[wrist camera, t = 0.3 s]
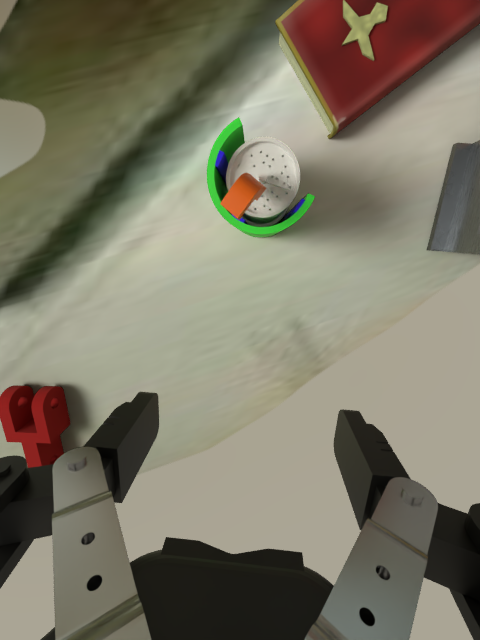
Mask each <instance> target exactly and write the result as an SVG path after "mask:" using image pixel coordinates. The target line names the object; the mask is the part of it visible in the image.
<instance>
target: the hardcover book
mask: <svg viewBox="0 0 480 640" xmlns="http://www.w3.org/2000/svg"><path fill="white" fill-rule="evenodd" d="M275 24H276V26H277V27H278V29H279V31H280V39H279V45H280V47H281V49H282V50H283V52H284V54H285V56H286V57H287V59H288V61H289V63H290V64H291V66H292V68H293V70H294V71H295V73H296V75H297V77H298V78H299V80H300V82H301V84H302V85H303V87H304V89H305V91H306V92H307V94H308V96H309V98H310V99H311V101H312V103H313V105H314V106H315V108H316V110H317V112H318V114H319V115H320V117H321V119H322V121H323V122H324V124H325V126H326V128H327V129H328V131H329V133H330V134H329V135H328V136H327V137H328V138H329V139H330V138H332V137H333V136H334V135H336V134H337V133H338V132H339V131H341V130H342V129H343V128H345V127H346V126H347V125H349V124H350V123H351V122H352V121H354V120H355V119H356V118H358V117H359V116H360V115H362V114H363V113H364V112H365V111H367V110H368V109H369V108H371V107H372V106H373V105H375V104H376V103H377V102H378V101H380V100H381V99H382V98H384V97H385V96H386V95H388V94H389V93H390V92H391V91H393V90H394V89H395V88H397V87H398V86H399V85H401V84H402V83H403V82H404V81H406V80H407V79H408V78H410V77H411V76H412V75H414V74H415V73H416V72H417V71H419V70H420V69H421V68H423V67H424V66H425V65H427V64H428V63H429V62H430V61H432V60H433V59H434V58H436V57H437V56H438V55H439V54H441V53H442V52H443V51H445V50H446V49H447V48H449V47H450V46H451V45H452V44H454V43H455V42H456V41H458V40H459V39H460V38H462V37H463V36H464V35H465V34H467V33H468V32H469V31H471V30H472V29H473V28H475V27H476V26H477V25H478V24H480V0H298V1H297V2H296V3H295V4H294V5H293V6H291V7H290V8H289V9H288V10H287V11H286V12H285V13H284V14H283V15H282V16H280V17H279V18H278V19H277V20H276V23H275Z"/></svg>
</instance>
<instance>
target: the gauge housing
mask: <svg viewBox="0 0 480 640" xmlns="http://www.w3.org/2000/svg"><path fill="white" fill-rule="evenodd" d="M427 250H433V251H445V252H458V253H471V254H480V140H479V141H477V142H475V143H473V144H467V143H456V144H454V145H453V147H452V151H451V155H450V159H449V163H448V167H447V171H446V175H445V179H444V183H443V187H442V191H441V195H440V199H439V203H438V207H437V211H436V215H435V219H434V223H433V227H432V231H431V235H430V239H429V243H428V247H427Z"/></svg>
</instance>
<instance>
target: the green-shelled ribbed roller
mask: <svg viewBox="0 0 480 640" xmlns="http://www.w3.org/2000/svg"><path fill="white" fill-rule="evenodd" d="M207 183H208V189H209V193H210V196H211V198H212V201H213V203H214V205H215V207H216V208H217V210H218V211H219V213H220V214H221V215H222V216H223V217H224V219H225V220H227V221H228V222H229V223H230V224H232V225H233V226H234V227H236V228H237V229H239V230H240V231H242V232H243V233H245V234H247V235H250V236H253V237H269V236H272V235H274V234H277V233H278V232H280V231H282V230H284V229H286V228H288V227H289V226H291V225H292V224H294V223H295V222H296V221H298V220H299V219H300V218H301V217H302V216H303V215H304V214H305V212H306V211H307V210H308V208H309V207H310V205H311V204H312V202H313V200H314V198H315V196H313V195H311V194H309V193H308V194H307V195H306V196H305V197H304V198H303V199H301V200H300V201H299V202H298V203H297V204H296V205H295V206H294V207H293V209H292V210H291V211H290V212H289V213H288V214H287V215H286V216H285V218H284V219H283V221H282V222H281V223H279V224H277V225H275V224H276V223H278V222H279V221H280V220H281V219H282V218H283V216H284V215H285V213H286V212H287V210H288V207H289V205H290V204H291V202H292V201H293V199H294V198H295V196H296V194H297V191H298V188H299V184H300V168H299V164H298V161H297V158H296V156H295V154H294V153H293V151H292V150H291V149H290V148H289V147H288V146H287V145H286V144H285V143H283V142H282V141H280V140H278V139H275V138H271V137H257V138H254V139H251V140H249V141H247V142H245V141H244V134H243V127H242V123H241V121H240V118H237V119H235V120H234V121H233V122H231V123H230V124H229V125H228V126H227V127H226V128H225V129H224V130H223V131H222V132H221V134H220V135H219V137H218V138H217V140H216V141H215V143H214V145H213V148H212V150H211V153H210V156H209V160H208V166H207Z"/></svg>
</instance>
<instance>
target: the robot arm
mask: <svg viewBox="0 0 480 640" xmlns="http://www.w3.org/2000/svg"><path fill="white" fill-rule="evenodd" d="M158 429H159V407H158V395H157V393H149V392H139V393H138V394H137V395H136V397H135V398H134V399H133V401H132V402H125V403H124V404H122V405H120V406H119V407H117V408H116V409H115V410H114V411H113V412H112V413H111V415H110V416H109V418H107V419H106V420H105V422H104V423H103V425H101V426H100V428H99V429H98V430H97V431H96V432H95V433H94V435H93V436H92V437H91V438H90V439H89V441H88V442H87V443H86V444H85V445H84V446H83V447H79V448H75V449H72V450H70V451H68V452H66V453H64V454H63V455H61V456H60V457H59V458H58V459H57V460H56V461H55V463H54V464H51V465H45V466H38V467H31V468H28V466H27V461H26V459H25V458H23V457H21V456H7V457H3V458H0V588H1V587H2V585H3V584H4V582H5V581H6V579H7V578H8V577H9V575H10V574H11V572H12V571H13V569H14V568H15V566H16V565H17V563H18V562H19V561H20V559H21V558H22V556H23V555H24V553H25V552H26V550H27V549H28V548H29V546H30V545H31V543H32V542H33V540H34V539H36V538H41V537H45V536H50V535H52V539H53V571H54V604H55V605H54V606H55V627H54V628H53V629H52V630H51V631H50V632H49V633H48V634H46V635H45V636H44V637H43V638H42V639H41V640H409V638H410V634H411V629H412V625H413V621H414V616H415V612H416V608H417V603H418V599H419V595H420V591H421V586H422V582H423V578H427V579H429V580H431V581H433V582H436V583H438V584H440V585H443V586H445V587H447V588H449V589H450V591H451V594H452V595H453V598H454V600H455V602H456V604H457V606H458V608H459V610H460V612H461V614H462V616H463V618H464V621H465V623H466V625H467V627H468V629H469V631H470V633H471V635H472V637H473V639H474V640H480V503H479V504H474V505H472V506H471V507H470V509H469V512H468V514H467V513H464V512H461V511H458V510H455V509H452V508H449V507H447V506H444V505H441V504H439V503H437V500H436V498H435V497H434V495H433V494H432V493H431V492H430V491H429V490H428V489H426V488H425V487H424V486H423V485H421V484H419V483H418V482H416V481H413V480H411V479H410V477H409V476H408V474H407V473H406V471H405V469H404V468H403V466H402V464H401V463H400V461H399V459H398V458H397V456H396V455H395V453H394V452H393V450H392V448H391V447H390V445H389V444H388V442H387V440H386V438H385V436H384V435H383V433H382V432H381V431H379V430H378V429H377V428H376V427H375V426H374V425H372V424H366V422H365V421H364V419H363V417H362V415H361V413H360V412H359V411H353V410H340V411H339V414H338V420H337V426H336V431H335V438H334V453H335V457H336V460H337V462H338V466H339V468H340V471H341V475H342V478H343V481H344V484H345V486H346V489H347V492H348V495H349V498H350V501H351V504H352V507H353V510H354V513H355V516H356V519H357V522H358V525H359V528H360V530H361V532H360V534H359V536H358V538H357V541H356V542H355V545H354V546H353V548H352V550H351V553H350V555H349V557H348V559H347V561H346V563H345V565H344V567H343V569H342V571H341V573H340V575H339V577H338V579H337V581H336V583H335V585H334V586H333V585H332V584H331V583H330V582H329V581H328V580H326V579H325V578H324V577H322V576H321V575H320V574H318V573H317V572H315V571H313V570H311V569H309V568H307V567H305V566H304V564H303V556H302V553H301V552H293V551H284V550H275V549H263V550H257V551H251V552H245V553H239V554H230V553H227V552H224V551H222V550H220V549H217V548H215V547H212V546H210V545H208V544H205V543H203V542H200V541H196V540H187V539H177V538H169V537H166V539H165V542H164V545H163V548H162V550H158V551H154V552H151V553H148V554H146V555H143V556H141V557H139V558H137V559H136V560H134V561H132V562H129V559H128V555H127V551H126V547H125V543H124V539H123V535H122V531H121V527H120V523H119V519H118V515H117V511H116V508H115V504H114V502H117V503H122V502H123V500H124V498H125V496H126V494H127V492H128V490H129V488H130V486H131V484H132V483H133V481H134V479H135V477H136V475H137V473H138V471H139V469H140V467H141V465H142V463H143V462H144V460H145V458H146V456H147V454H148V452H149V450H150V448H151V446H152V444H153V442H154V441H155V439H156V436H157V433H158Z"/></svg>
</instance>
